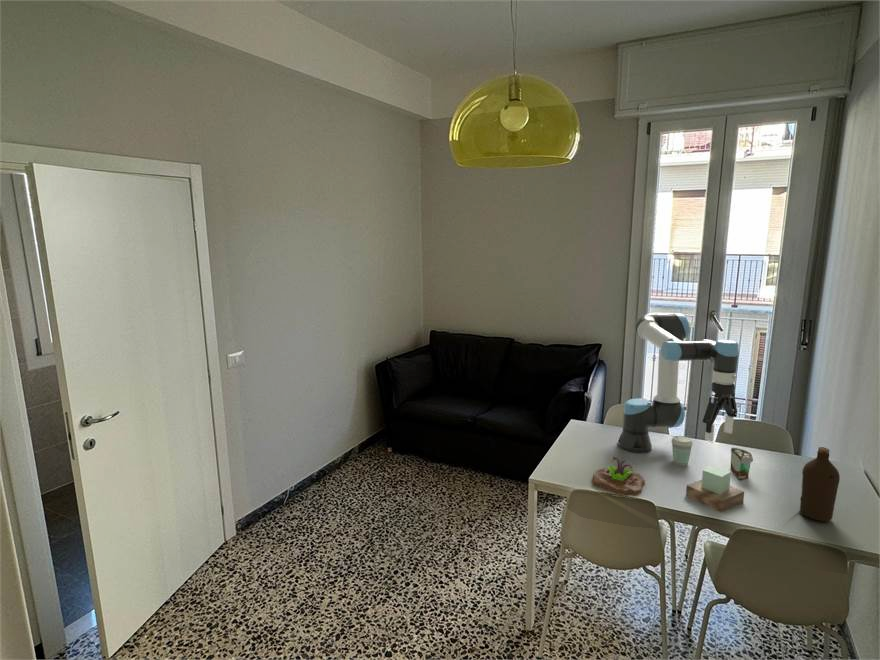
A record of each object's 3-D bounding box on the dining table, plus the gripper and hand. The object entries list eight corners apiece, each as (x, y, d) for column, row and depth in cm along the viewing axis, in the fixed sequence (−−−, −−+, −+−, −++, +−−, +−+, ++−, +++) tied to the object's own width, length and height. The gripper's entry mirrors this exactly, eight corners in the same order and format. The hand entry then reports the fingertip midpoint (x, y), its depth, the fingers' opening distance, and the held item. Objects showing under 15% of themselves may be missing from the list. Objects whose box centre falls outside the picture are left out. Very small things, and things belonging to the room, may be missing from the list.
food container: (756, 482, 205) (758, 459, 204) (739, 481, 207) (742, 458, 205) (744, 469, 217) (746, 447, 216) (729, 468, 219) (731, 446, 217)
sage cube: (701, 487, 192) (702, 470, 191) (710, 482, 196) (712, 465, 195) (720, 494, 187) (721, 476, 186) (729, 489, 191) (730, 471, 190)
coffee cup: (674, 458, 229) (676, 433, 227) (694, 464, 223) (696, 438, 221) (666, 464, 223) (668, 438, 221) (686, 470, 217) (688, 444, 215)
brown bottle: (840, 517, 179) (849, 451, 175) (824, 525, 174) (833, 457, 170) (807, 504, 188) (814, 440, 184) (791, 511, 183) (799, 446, 179)
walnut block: (685, 497, 195) (686, 485, 194) (708, 488, 202) (709, 476, 201) (720, 513, 183) (721, 500, 182) (743, 503, 190) (744, 491, 189)
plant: (599, 469, 220) (600, 444, 218) (647, 479, 210) (648, 454, 208) (587, 487, 203) (588, 461, 201) (638, 499, 193) (640, 472, 191)
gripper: (715, 390, 176) (710, 447, 179) (751, 379, 189) (745, 432, 193) (695, 385, 182) (690, 440, 186) (730, 374, 196) (725, 426, 199)
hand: (718, 436), depth 189 cm, fingers open, 13 cm apart
